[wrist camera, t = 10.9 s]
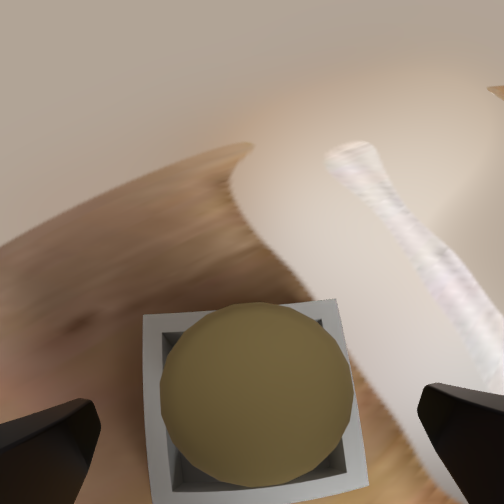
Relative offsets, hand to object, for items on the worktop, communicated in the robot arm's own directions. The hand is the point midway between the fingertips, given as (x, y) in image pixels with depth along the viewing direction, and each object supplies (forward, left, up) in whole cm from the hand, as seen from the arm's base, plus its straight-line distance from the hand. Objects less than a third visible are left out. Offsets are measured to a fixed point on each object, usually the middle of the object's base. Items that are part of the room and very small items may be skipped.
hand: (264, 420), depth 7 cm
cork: (+1, 0, -10) cm, 10 cm away
